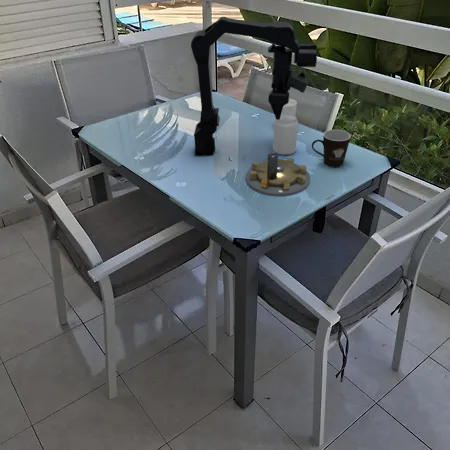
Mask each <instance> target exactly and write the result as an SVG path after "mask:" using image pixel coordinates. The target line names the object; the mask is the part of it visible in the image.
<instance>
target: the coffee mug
mask: <svg viewBox="0 0 450 450" xmlns="http://www.w3.org/2000/svg"><path fill="white" fill-rule="evenodd" d="M322 137H323V139H315V140H314V141H312V143H311V149H312V150H313V151H314V152H315V153H317V154H318V155H319V156H321V157H323V164H324V165H325V166H326V167H328V168H329V167H330V168H341V167H342V166H343V165H344V162H345V159H346V155H347V152H348V149H349V148H348V147H349V144H350V141H351V137H352V135H351V134H350V132H347V131H345V130H341V129H328V130H326V131H324V132H323V136H322ZM317 142H320V143H322V146H323V153H321V152H319V151H318V150H316V149H315V148H314V145H315V143H317ZM340 166H341V167H340Z"/></svg>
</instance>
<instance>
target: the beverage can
mask: <svg viewBox="0 0 450 450" xmlns="http://www.w3.org/2000/svg"><path fill="white" fill-rule="evenodd" d="M298 128H299V121H298V118H297V116H296V115H295V116H293V115H289V114H283V115H281V116H280V119H279V120H277V119H276V118H275V119H274V121H273V136H272V137H273V138H272V150H273V151H274V152H273V153H276V154H278V155H282V156H286V155H287V156H288V155H291V154H295V153H296V151H297V143H298V142H297V141H298V130H299V129H298Z"/></svg>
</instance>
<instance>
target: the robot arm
mask: <svg viewBox="0 0 450 450" xmlns="http://www.w3.org/2000/svg"><path fill="white" fill-rule="evenodd" d="M224 34H230V35H236V36H243V37H250V38H258V39H263V40H266V41H267V42H268V43H269V42H270V43H271V45H270V46H268V47H267V53H271V54H272V53H273V59H272V70H271V75H272V77H271V80H272V82H271V85H270V87H271V90H270V91H269V93H268V103H269V105H270V107H271V110H272V112H273V114H274V117H275V119H277V120H279V119H280V116H281V113H282V109H283V106H284V105H286V104H288V102H289V99H290V92H289V91H291V88H292V89H294V90H296V91H299V92H300V93H302V94H303V93H305V91H306V89H307V88H308V85H309V79H308V78H307V77H306V72H304V71H300V72H298V73H293V69H292V61H293V64H294V65H295V64H296V66H297V68H316V66H317V61H318V57H317V51H318V50H317V49H318V48H317V47H318V46H317V43H299V40H298V39H297V38H296V36H295V32H294V28H293V26H292V25H291V24H290V22H287V21H274V22H266V23H264V22H257V21H250V20H242V19H236V18H229V17H226V16H221V17H219V18H218V19H217V20H216V21H214V23H212V24H210V25H209V26H208V27H206V28H205V29H204V30H198V31H197V32H195V33H194V35H193V37H192V40H191V42H190V47H191V52H192V55H193V58H194V60H195V61H194V62H195V63H196V65H197V67H196V68H197V74H198V75H197V76H198V77H197V78H198V84H199V85H198V86H199V94H200V95H199V97H200V107H201V109H200V120H199V122H198V123H197V124H196V125H195V129H194V133H193V137H194V138H193V139H194V156H195V157H196V156H202V157H203V156H214V153H215V152H216V137H214V134H215V133H216V132H217V129H218V127H220V120H221V117H220V115H219V112H220V111H219V110H220V108H219V107H216V108H215V105H214V101H213V99H214V98H213V87H212V79H211V78H212V76H211V75H212V74H211V64H210V60H211V59H210V58H211V52H212V51H211V49H212V45H214V43H216V42H218V40H219V39H220V38H221V37H222V36H223V35H224Z"/></svg>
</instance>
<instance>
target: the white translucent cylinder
mask: <svg viewBox="0 0 450 450" xmlns="http://www.w3.org/2000/svg"><path fill="white" fill-rule="evenodd" d="M297 104H298V102H297V100H295V99H293V98H289V102H288V104H286V105H284V106H283V109H282V113H281V115H283V114H289V115H293V116H295V117H296V114H297V113H296V112H297V106H298V105H297Z"/></svg>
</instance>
